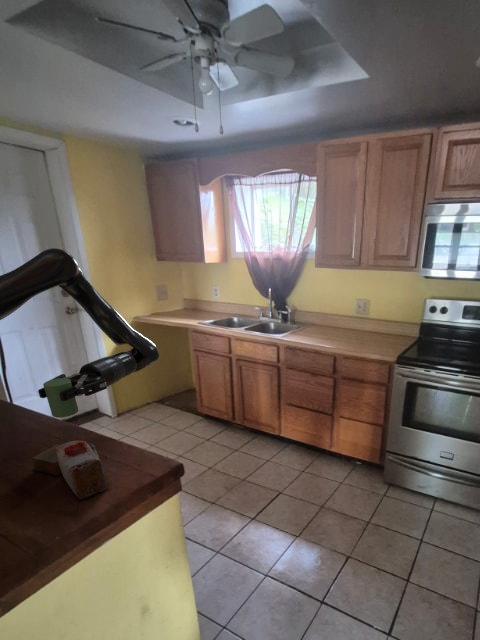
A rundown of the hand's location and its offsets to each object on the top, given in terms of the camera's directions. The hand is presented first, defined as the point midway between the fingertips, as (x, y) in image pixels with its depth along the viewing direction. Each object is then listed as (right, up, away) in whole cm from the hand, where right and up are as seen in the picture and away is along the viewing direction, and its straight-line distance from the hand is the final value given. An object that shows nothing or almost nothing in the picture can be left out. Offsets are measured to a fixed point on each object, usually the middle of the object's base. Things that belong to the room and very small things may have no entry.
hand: (51, 395), depth 86 cm
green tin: (+1, -4, +4) cm, 6 cm away
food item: (+9, -20, -1) cm, 22 cm away
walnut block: (-2, -17, +5) cm, 18 cm away
